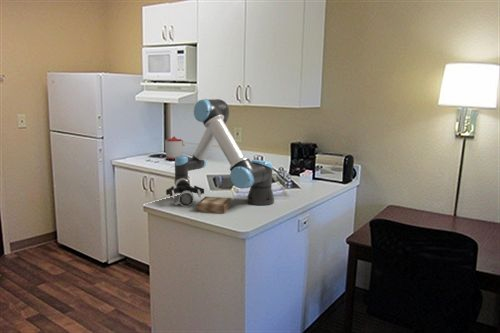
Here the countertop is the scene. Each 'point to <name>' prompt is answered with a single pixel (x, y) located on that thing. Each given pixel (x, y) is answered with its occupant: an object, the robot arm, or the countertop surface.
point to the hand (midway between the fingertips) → (186, 195)
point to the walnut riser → (214, 205)
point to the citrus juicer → (173, 147)
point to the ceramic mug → (185, 199)
